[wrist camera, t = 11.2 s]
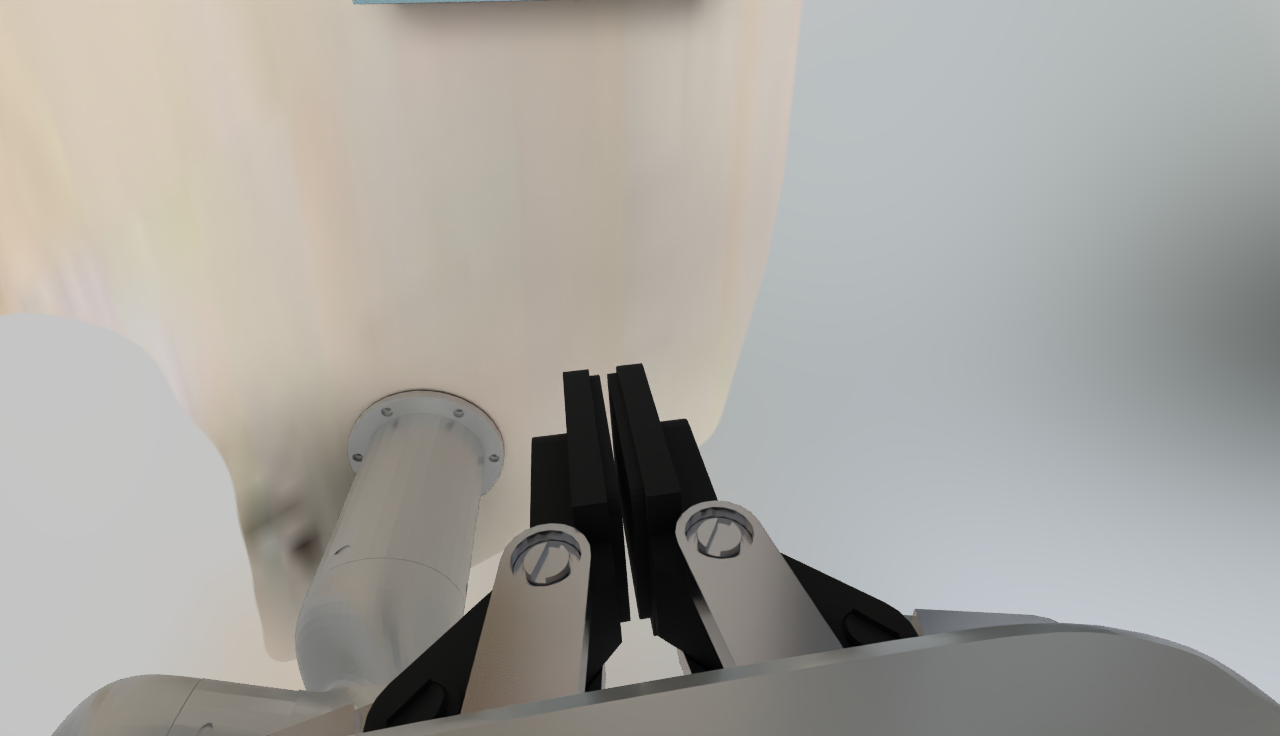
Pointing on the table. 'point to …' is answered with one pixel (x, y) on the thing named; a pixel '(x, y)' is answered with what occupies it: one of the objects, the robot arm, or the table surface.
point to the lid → (417, 1)
